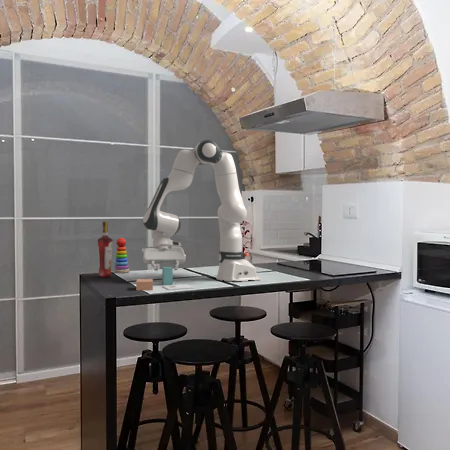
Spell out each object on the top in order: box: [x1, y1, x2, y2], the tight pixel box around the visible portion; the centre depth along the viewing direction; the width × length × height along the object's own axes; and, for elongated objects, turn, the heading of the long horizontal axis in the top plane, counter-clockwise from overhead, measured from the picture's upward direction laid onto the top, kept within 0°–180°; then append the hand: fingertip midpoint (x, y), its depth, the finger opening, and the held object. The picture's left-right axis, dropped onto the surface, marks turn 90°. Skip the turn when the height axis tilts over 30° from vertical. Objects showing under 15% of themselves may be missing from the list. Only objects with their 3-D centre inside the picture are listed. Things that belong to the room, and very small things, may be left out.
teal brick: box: [161, 266, 174, 286], centre depth 221 cm, size 4×4×8 cm
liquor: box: [97, 221, 114, 278], centre depth 240 cm, size 7×7×28 cm
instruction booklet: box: [161, 283, 195, 291], centre depth 213 cm, size 12×9×1 cm
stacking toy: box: [114, 237, 130, 274], centre depth 257 cm, size 8×8×19 cm
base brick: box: [135, 278, 154, 291], centre depth 208 cm, size 7×7×4 cm
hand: (166, 269), depth 222 cm, fingers open, 8 cm apart
